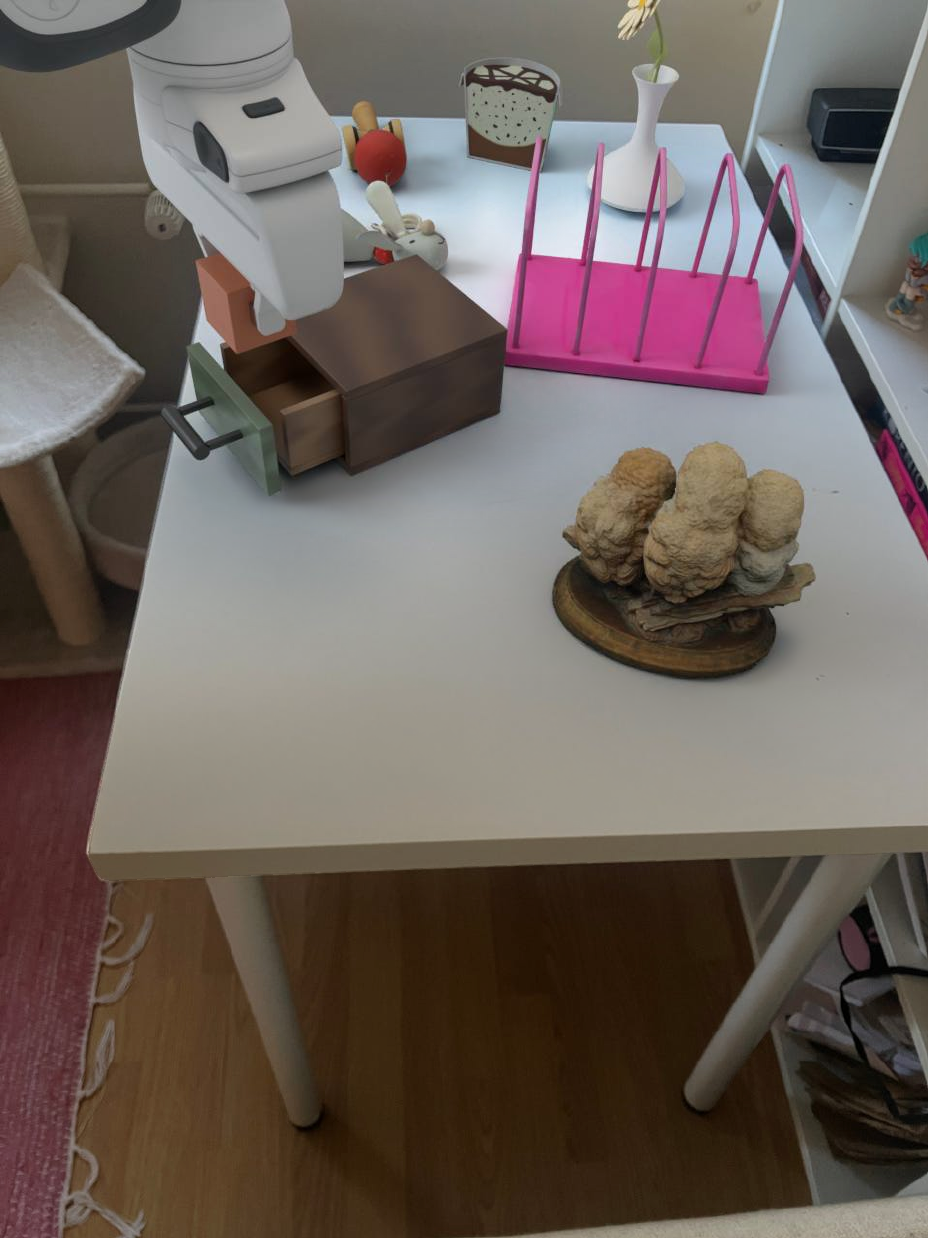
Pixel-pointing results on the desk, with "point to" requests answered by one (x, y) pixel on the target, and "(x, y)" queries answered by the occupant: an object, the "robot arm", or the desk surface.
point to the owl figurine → (683, 562)
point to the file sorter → (645, 302)
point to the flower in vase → (642, 125)
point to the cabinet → (404, 359)
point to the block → (232, 305)
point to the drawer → (262, 410)
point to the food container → (509, 109)
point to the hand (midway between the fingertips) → (248, 306)
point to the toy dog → (391, 233)
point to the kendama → (375, 146)
